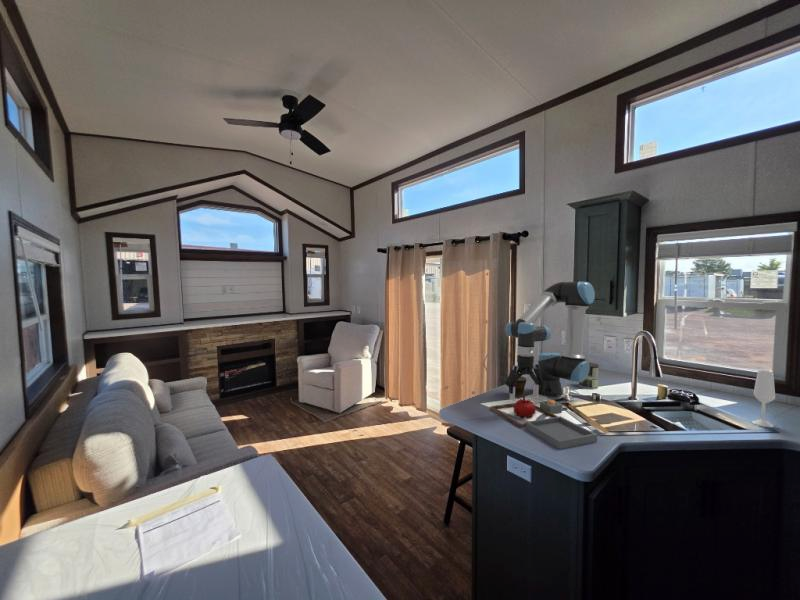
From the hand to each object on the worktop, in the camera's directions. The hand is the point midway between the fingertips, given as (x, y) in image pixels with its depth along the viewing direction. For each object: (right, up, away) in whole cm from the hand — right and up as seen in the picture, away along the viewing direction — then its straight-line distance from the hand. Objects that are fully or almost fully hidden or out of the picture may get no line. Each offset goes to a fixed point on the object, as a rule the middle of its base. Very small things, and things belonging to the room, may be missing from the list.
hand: (524, 398), depth 158 cm
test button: (+15, -7, +6) cm, 18 cm away
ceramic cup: (+6, -7, +29) cm, 30 cm away
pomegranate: (0, -8, +1) cm, 8 cm away
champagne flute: (+105, -9, -8) cm, 106 cm away
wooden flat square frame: (0, -8, +1) cm, 8 cm away
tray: (+7, -9, -20) cm, 23 cm away
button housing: (+15, -8, +6) cm, 18 cm away
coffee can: (+57, -6, +45) cm, 73 cm away
